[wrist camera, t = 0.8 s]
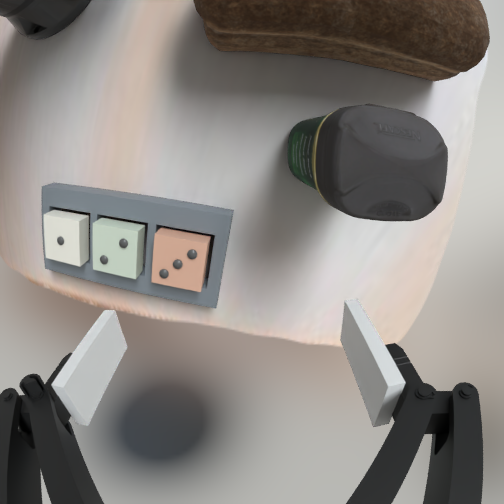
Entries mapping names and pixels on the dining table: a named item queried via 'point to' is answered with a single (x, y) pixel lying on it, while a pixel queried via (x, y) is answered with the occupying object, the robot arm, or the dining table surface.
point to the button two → (118, 247)
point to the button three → (180, 259)
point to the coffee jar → (371, 162)
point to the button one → (66, 237)
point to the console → (156, 216)
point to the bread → (356, 31)
